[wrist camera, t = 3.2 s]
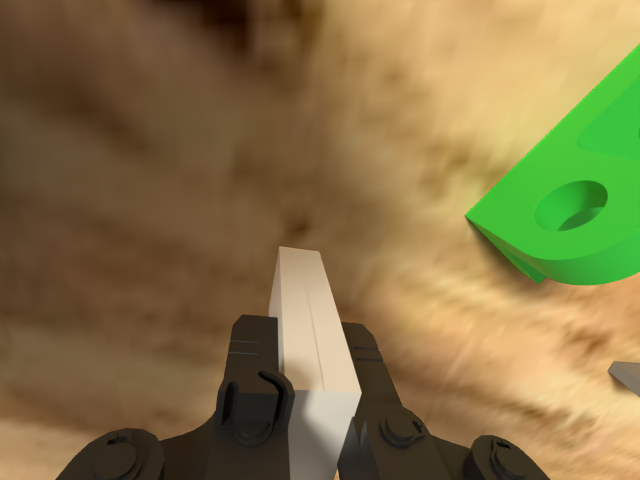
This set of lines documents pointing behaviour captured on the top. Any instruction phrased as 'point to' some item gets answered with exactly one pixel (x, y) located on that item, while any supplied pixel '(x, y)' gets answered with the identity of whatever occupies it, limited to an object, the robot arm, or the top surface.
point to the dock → (627, 375)
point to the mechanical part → (575, 191)
